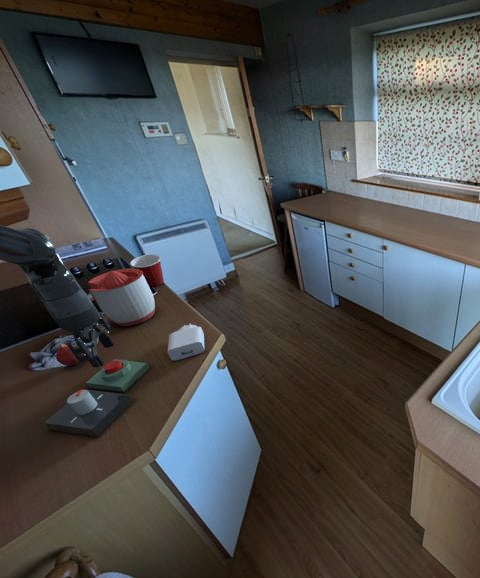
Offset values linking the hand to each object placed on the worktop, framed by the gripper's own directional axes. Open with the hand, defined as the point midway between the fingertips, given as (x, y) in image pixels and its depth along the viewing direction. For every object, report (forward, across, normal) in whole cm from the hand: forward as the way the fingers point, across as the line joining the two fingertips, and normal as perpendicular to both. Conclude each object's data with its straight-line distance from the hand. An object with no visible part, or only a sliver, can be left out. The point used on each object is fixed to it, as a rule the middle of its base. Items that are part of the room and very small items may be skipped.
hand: (104, 355), depth 81 cm
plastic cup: (+9, +59, +2) cm, 60 cm away
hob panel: (+9, -12, +2) cm, 15 cm away
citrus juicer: (+9, +33, +5) cm, 34 cm away
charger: (+9, +10, -17) cm, 22 cm away
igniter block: (+9, 0, 0) cm, 9 cm away
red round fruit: (+9, +12, +14) cm, 21 cm away
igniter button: (+6, 0, 0) cm, 6 cm away
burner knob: (+6, -12, +2) cm, 14 cm away
